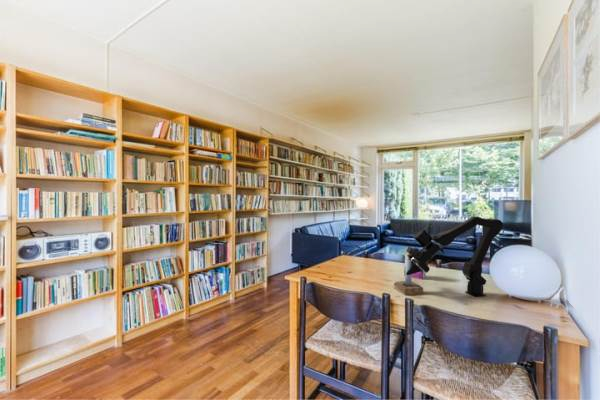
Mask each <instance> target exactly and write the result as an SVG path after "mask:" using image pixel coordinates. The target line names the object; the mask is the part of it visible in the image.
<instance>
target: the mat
mask: <svg viewBox="0 0 600 400" xmlns="http://www.w3.org/2000/svg"><path fill="white" fill-rule="evenodd" d="M398 282H405V280H398V281H395V283H398ZM411 282H413V283H415V284H417V285H419V286H421V287H422V285H420V284H418V283H416V282H415V281H412V280H411Z"/></svg>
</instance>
